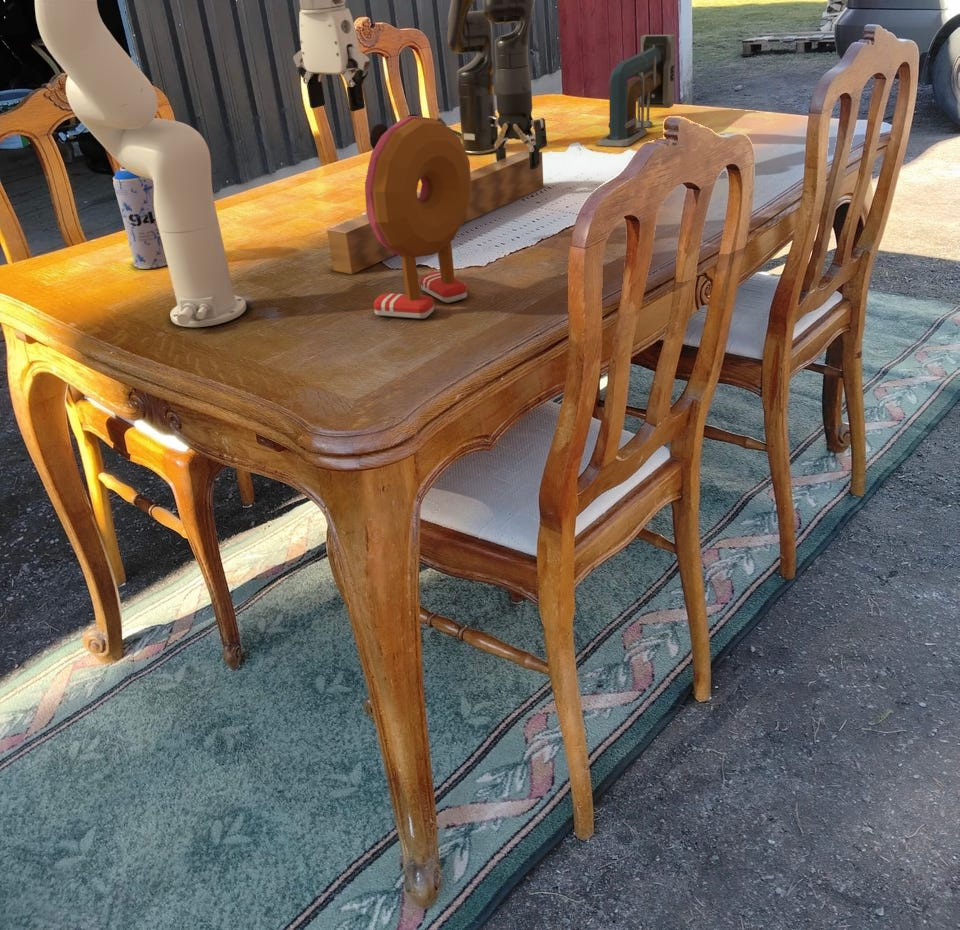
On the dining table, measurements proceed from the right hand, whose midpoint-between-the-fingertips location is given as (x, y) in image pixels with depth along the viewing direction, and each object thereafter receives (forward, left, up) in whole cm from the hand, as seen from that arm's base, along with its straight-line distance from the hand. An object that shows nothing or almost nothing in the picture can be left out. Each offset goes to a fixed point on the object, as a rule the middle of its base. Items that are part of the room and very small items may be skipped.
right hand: (518, 167), depth 212 cm
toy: (+59, -30, -6) cm, 67 cm away
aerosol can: (+16, -78, -6) cm, 80 cm away
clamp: (-46, +43, -6) cm, 63 cm away
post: (+16, -19, -6) cm, 26 cm away
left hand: (+31, -39, +22) cm, 54 cm away
